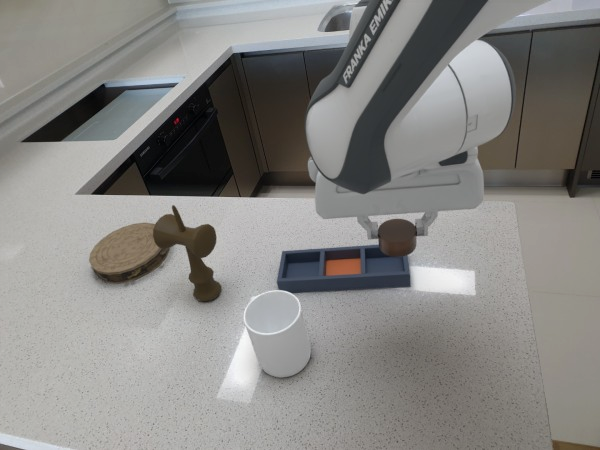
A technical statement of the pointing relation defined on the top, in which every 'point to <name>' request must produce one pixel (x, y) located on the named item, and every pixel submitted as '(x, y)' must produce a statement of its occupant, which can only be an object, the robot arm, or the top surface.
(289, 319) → the mug
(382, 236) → the cylinder
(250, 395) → the top surface
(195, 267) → the kendama
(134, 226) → the wood slice coaster
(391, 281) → the grid
